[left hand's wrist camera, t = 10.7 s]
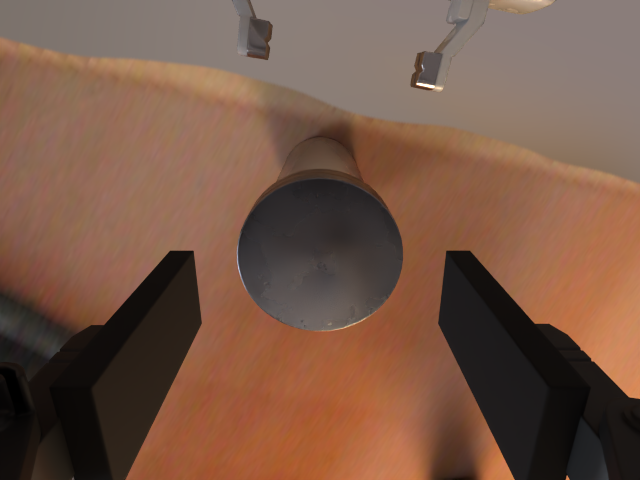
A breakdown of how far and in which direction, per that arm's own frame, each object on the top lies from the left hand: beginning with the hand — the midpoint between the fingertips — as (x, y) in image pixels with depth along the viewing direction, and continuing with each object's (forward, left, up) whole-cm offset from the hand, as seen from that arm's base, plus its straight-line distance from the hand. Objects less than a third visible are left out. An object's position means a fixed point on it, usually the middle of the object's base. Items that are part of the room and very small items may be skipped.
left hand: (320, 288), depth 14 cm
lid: (0, 0, -3) cm, 3 cm away
